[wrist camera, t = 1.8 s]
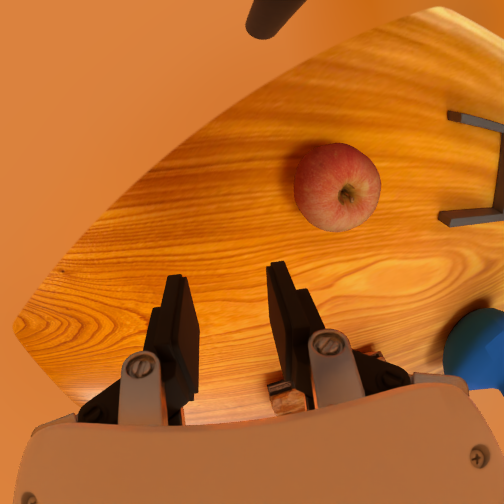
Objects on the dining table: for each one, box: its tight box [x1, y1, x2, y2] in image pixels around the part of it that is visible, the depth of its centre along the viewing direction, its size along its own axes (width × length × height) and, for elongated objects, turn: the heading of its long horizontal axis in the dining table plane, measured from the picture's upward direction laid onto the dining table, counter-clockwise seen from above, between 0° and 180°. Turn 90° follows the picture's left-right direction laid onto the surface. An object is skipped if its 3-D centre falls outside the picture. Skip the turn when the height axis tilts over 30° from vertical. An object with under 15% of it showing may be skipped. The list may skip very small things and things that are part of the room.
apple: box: [294, 143, 381, 232], centre depth 24 cm, size 8×8×8 cm
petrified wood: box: [267, 351, 386, 416], centre depth 40 cm, size 19×13×10 cm
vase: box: [443, 308, 504, 396], centre depth 37 cm, size 18×18×19 cm
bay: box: [439, 111, 504, 227], centre depth 27 cm, size 14×14×2 cm
